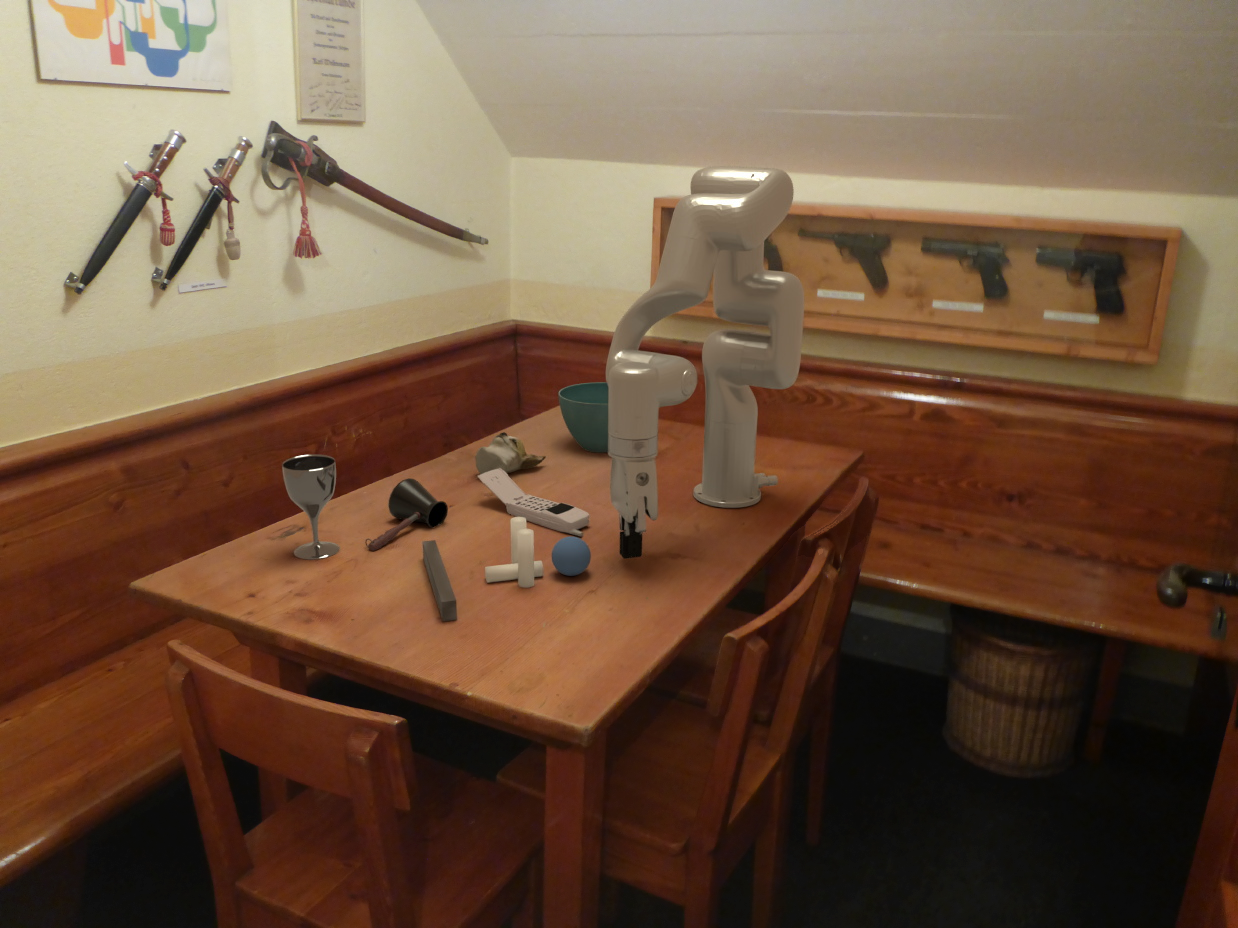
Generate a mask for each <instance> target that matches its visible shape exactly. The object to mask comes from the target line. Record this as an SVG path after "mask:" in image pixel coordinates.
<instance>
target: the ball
mask: <svg viewBox="0 0 1238 928" xmlns="http://www.w3.org/2000/svg"><path fill="white" fill-rule="evenodd" d="M591 556H592V555H591V550H590V548H589V545H588V544H587V542H586V541H584V540H583V539H582V538H580V537H577V536H566V537H563V538H561V539H559V540H558V541H557V542H556V543H555V544H554V546H553V548H552V551H551V561H552V565H553V566H554V568H555V569H556V570H557V571H558V572H559V573H561V574H562V575H564V576H568V577H574V576H578V575H581V574H582V573H583V572H585V570H586V569H587V568H588V567H589V565H590V562H591V559H592V557H591Z"/></svg>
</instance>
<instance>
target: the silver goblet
mask: <svg viewBox="0 0 1238 928" xmlns="http://www.w3.org/2000/svg"><path fill="white" fill-rule="evenodd" d="M281 465H282V475H283V481H284V485H285V489H286V492H287V494H288V497H289V498H290V500H291V501H292V502H293V503H294V504H295V505H296V506H298V507H299V508H300V510H303V512H304V513H305V514H306V515H307V517H308V519H309V521H310V525H311V530H312V539H313V541H312V542H307V543H304V544H302V545H299V546H297V547H296V548H295V549H294V551H293V555H294V557H297V558H299V559H302V560H309V561H310V560H320V559H321V560H322V559H327V558H330V557H332V556H334V555H337V554H338V552H339V551H340V550H341V549H340V545H338V544H337V543H335V542H331V541H325V540H324V541H319V540H320V539H319V533H318V532H319V530H318V529H319V517H320V514H321V512H322V511H323V509H324V508H325V506H326V505H327V504H328V503H329V502H330V500H331V499H332V497H333V496H334V493H335V489H336V488H335V487H336V484H337V483H336V481H337V479H336V478H337V468H336V467H337V466H336V459H335V458H334V456H333V457H332V456H330V455H326V454H304V455H298V456H294V457H291V458H288V459H285V461H283V462H282V464H281Z"/></svg>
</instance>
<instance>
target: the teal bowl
mask: <svg viewBox="0 0 1238 928" xmlns="http://www.w3.org/2000/svg"><path fill="white" fill-rule="evenodd" d="M608 401H609V387H608V385H607V381H606V382H605V381H604V382H601V381H600V382H586V383H579V384H578V383H577V384H572V385H568V386H566V387H563V388H561V389H560V390H559V391H558V402H559V407H560V412H561V415H562V417H563V420H564V423H565V425H566V428H567V429H568V432H569V433H570V435H571V436H572V437H573V439H574V440H575V442H576V443H577V444H578V445H579V447H581V448H582V449H583V450H584V451H588V452H591V453H601V454H602V453H603V454H604V453H608Z"/></svg>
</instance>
